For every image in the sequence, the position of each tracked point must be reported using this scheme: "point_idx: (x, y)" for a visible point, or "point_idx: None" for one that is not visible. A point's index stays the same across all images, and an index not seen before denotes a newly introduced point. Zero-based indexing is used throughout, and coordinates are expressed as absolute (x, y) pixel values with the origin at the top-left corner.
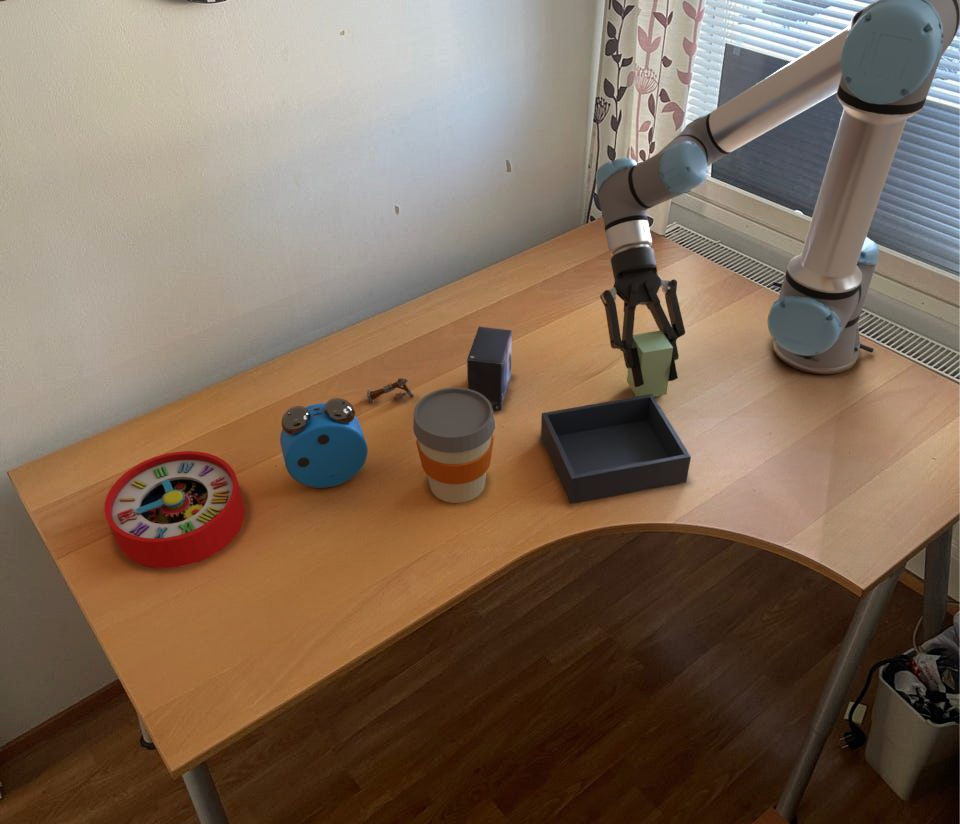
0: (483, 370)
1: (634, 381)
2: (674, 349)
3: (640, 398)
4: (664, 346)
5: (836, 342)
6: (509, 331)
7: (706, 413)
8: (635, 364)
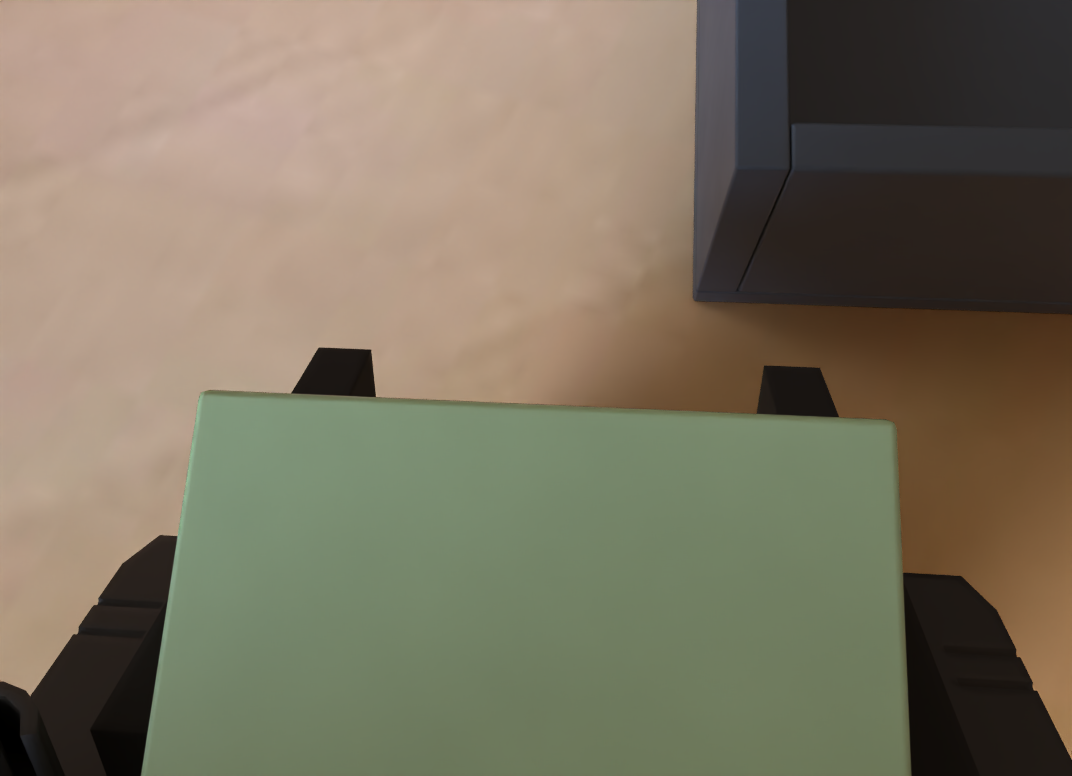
0: None
1: None
2: (116, 648)
3: (903, 129)
4: (344, 488)
5: None
6: None
7: (215, 237)
8: None
